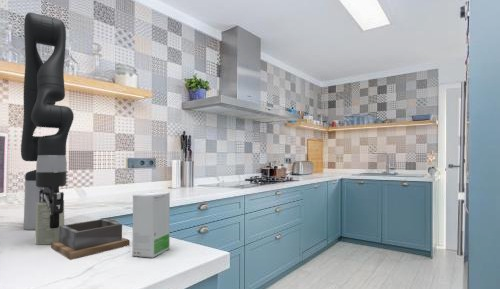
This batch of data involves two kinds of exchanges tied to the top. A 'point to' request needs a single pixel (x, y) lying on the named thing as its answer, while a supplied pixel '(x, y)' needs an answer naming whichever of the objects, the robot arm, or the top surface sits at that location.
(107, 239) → the sleeve holder
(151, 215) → the skincare box
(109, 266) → the top surface
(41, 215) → the skincare box
